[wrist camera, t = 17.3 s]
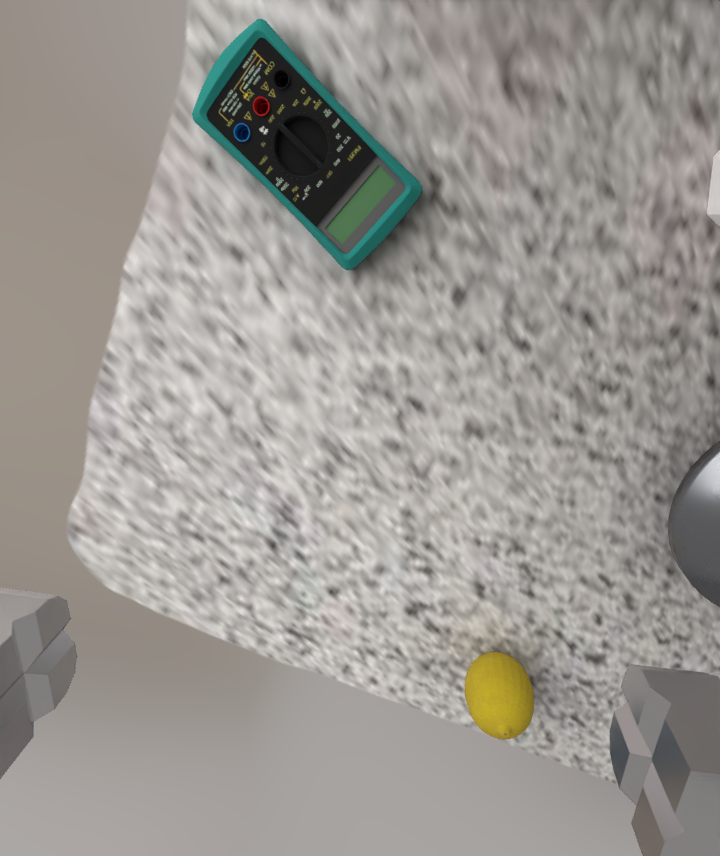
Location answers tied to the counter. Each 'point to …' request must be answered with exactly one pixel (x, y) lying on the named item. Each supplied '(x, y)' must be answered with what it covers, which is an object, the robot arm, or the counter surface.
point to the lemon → (499, 695)
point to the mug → (715, 191)
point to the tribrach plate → (699, 525)
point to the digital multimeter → (304, 145)
